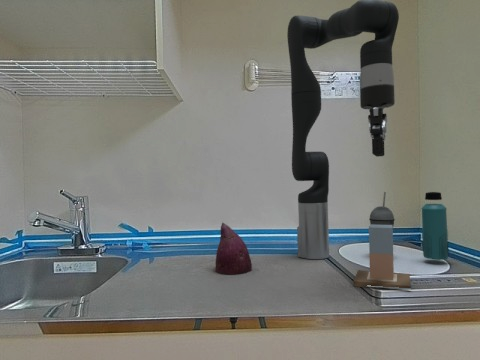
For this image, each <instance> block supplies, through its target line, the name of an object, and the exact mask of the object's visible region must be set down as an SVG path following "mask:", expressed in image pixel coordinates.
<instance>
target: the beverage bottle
mask: <svg viewBox="0 0 480 360" xmlns="http://www.w3.org/2000/svg"><path fill="white" fill-rule="evenodd" d="M424 195H425V197H424V199H425V200H426V201H441V200H442V199H443V198H442V192H439V191H429V192H425V194H424ZM447 216H448V215H447V207H446V206H445V205H444V204H443V203H426V204H424V205H422V207H421V220H422V221H421V224H422V225H421V233H422V241H421V243H422V252H423V253H422V255H423V257H424V258H426V259H429V260H437V261H438V260H439V261H442V260H447V259H448V258H449V250H450V249H449V248H450V247H449V241H448V240H449V231H448V220H447V218H448V217H447Z"/></svg>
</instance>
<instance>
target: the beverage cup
mask: <svg viewBox="0 0 480 360" xmlns="http://www.w3.org/2000/svg"><path fill="white" fill-rule="evenodd" d="M386 193H387V192H385V191H383V199H382V206H376V207H374V208H373V209H372V210H371V212H370V215H369V219H368V220H369V224H374V225H393V227H394V225H395V221H396V220H395V216H394V214H393V212H392V210H391V209H390V208H389V207H387V206H385V204H386V203H385V202H386Z"/></svg>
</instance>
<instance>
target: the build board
mask: <svg viewBox="0 0 480 360" xmlns="http://www.w3.org/2000/svg"><path fill="white" fill-rule="evenodd" d="M367 285H371V286H383V287H399V288H411V287H412V285H411V274H410V273H401V272H394V278H393V280H382V279H370V270H364V269H363V270H361V269H357V272H356V274H355V276H354V278H353V284H352V286H353V287H359V288H367V287H366V286H367ZM411 289H412V288H411Z"/></svg>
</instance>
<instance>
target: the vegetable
mask: <svg viewBox="0 0 480 360" xmlns="http://www.w3.org/2000/svg"><path fill="white" fill-rule="evenodd" d="M252 265H253V264H252V259H251V256H250V253H249V250H248V247H247V245H246V243H245V241H244V240H243V239H242V237H241V235H239V234H238V233H237V232H236V231H235V230H233V229H232V228H231V227H230V226H229V225H228V224H226V223H224V222H223V221H222V223H221V226H220V237H219V244H218V246H217V250H216V256H215V272H216V273H218V274H220V275H221V274H222V275H241V274H247V273H249V272H251V271H252V270H253V266H252Z"/></svg>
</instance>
